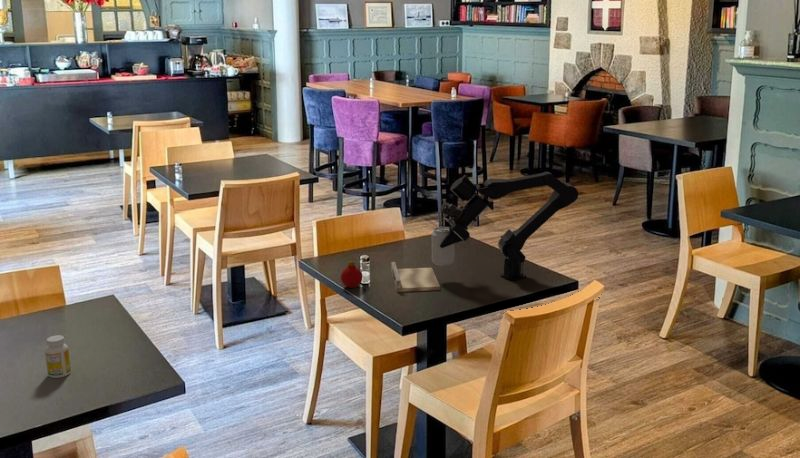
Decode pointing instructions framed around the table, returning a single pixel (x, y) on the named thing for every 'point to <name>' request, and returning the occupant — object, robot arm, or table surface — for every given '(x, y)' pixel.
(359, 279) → the christmas ornament
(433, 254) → the can
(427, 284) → the beige tray
